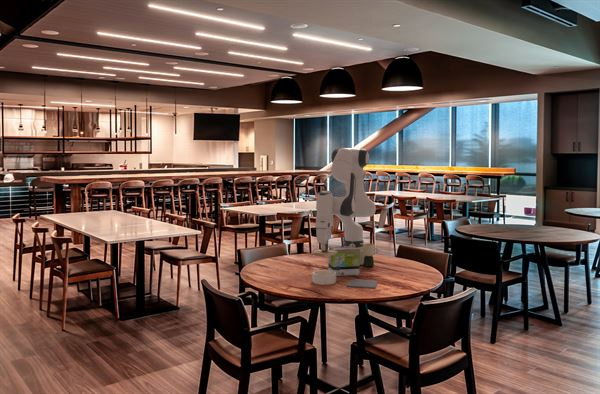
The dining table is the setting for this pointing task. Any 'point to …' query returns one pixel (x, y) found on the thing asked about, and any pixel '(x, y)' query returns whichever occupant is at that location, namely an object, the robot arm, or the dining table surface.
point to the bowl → (324, 277)
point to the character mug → (368, 254)
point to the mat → (362, 283)
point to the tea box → (345, 261)
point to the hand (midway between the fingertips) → (324, 249)
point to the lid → (324, 252)
